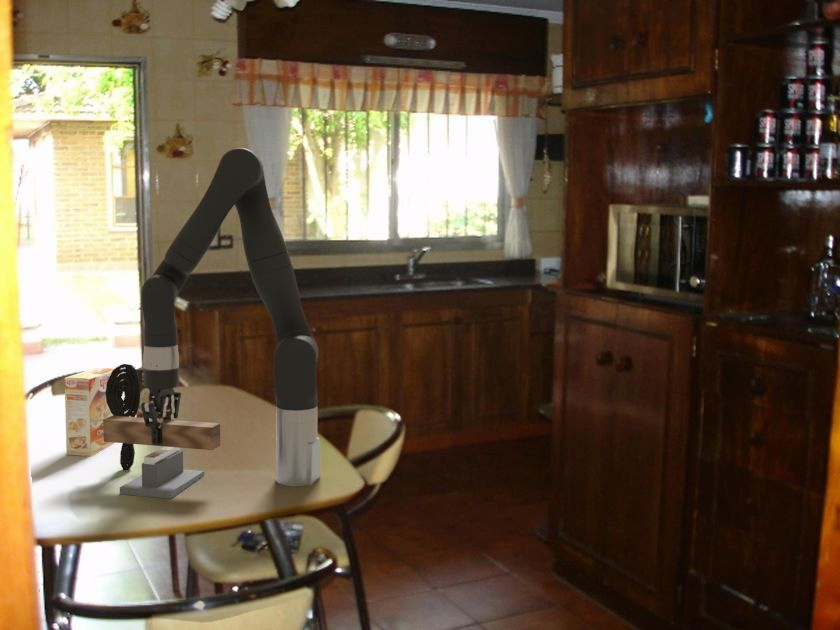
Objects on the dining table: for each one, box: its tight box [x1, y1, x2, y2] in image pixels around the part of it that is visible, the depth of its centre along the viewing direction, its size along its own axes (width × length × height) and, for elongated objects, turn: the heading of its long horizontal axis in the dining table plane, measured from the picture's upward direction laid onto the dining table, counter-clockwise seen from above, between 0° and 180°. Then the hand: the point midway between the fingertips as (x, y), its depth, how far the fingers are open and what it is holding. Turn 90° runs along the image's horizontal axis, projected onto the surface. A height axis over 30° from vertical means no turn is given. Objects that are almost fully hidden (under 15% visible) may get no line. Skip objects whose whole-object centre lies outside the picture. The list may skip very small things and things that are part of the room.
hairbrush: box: [105, 363, 142, 471], centre depth 218 cm, size 8×4×25 cm, turn 81°
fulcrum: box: [119, 446, 205, 499], centre depth 207 cm, size 12×16×8 cm
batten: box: [103, 416, 221, 451], centre depth 207 cm, size 26×4×5 cm, turn 77°
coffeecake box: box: [64, 367, 118, 457], centre depth 237 cm, size 15×7×20 cm, turn 170°
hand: (162, 441), depth 207 cm, fingers closed on batten, 4 cm apart
